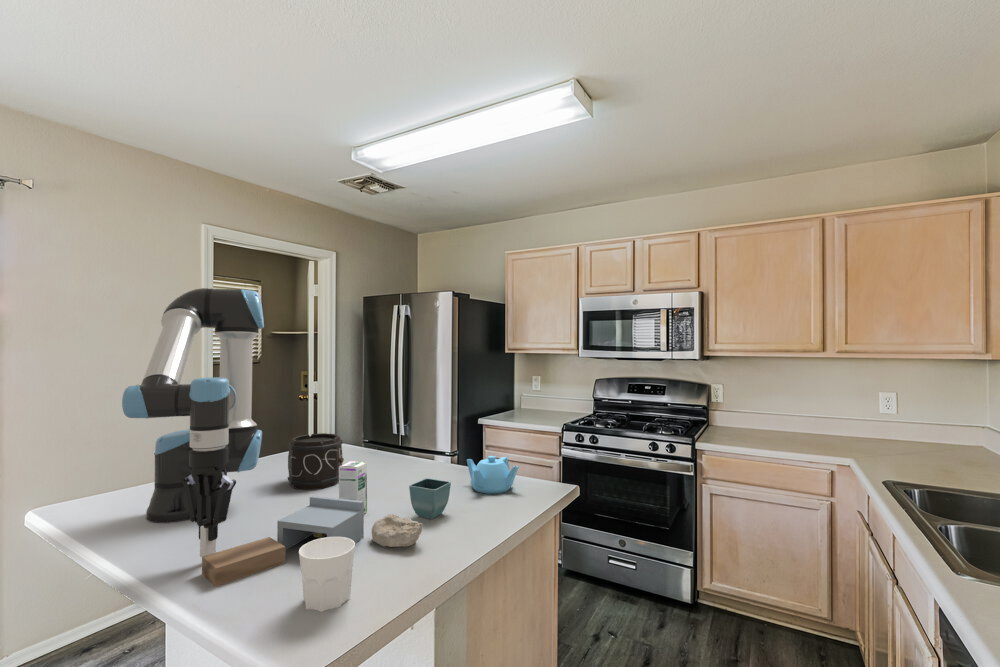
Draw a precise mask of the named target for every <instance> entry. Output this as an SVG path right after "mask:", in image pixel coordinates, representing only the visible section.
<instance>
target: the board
mask: <svg viewBox="0 0 1000 667" xmlns="http://www.w3.org/2000/svg"><path fill="white" fill-rule="evenodd" d="M283 564H286V550H285V546H284V545H282V544H280V543H279V542H277V540H275V539H274V538H272V537H271V536H268V537H266V538H265V537H264V538H261V539H257V540H254V541H251V542H247V543H243V544H241V545H237V546H234V547H230V548H227V549H224V550H221V551H217V552H215V553H213V554H210V555H206V556H203V557H201V575H202V576H203V577H204V578H206V580H207V581H208V582H210V583H211V584H212V585H213V586H214V587H215V588H216V587H219V586H222V585H225V584H228V583H230V582H234V581H237V580H240V579H242V578H247V577H249V576H251V575H255V574H257V573H261V572H263V571H266V570H269V569H271V568H274V567H278V566H280V565H283Z"/></svg>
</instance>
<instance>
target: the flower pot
mask: <svg viewBox="0 0 1000 667" xmlns="http://www.w3.org/2000/svg"><path fill="white" fill-rule="evenodd" d="M451 483H452V481H447V480H446V481H445V480H440V479H434V478H428V477H426V478H423V479H421V480H419V481H417V482H414V483H411V484H410V485H409V486H408V489H409V495H410V497H409V499H410V504H411V507H412V509H413V511H414V513H415V514H416V516H417V517H420V518H425V519H430V520H432V519H435V518H437V517H438V516H440V515H442V514H443V512H444V510H446V507H447V506H448V505H447V504H448V503H449V500H450V499H449V498H450V492H451Z"/></svg>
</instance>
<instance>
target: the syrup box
mask: <svg viewBox="0 0 1000 667" xmlns="http://www.w3.org/2000/svg"><path fill="white" fill-rule="evenodd" d="M367 469H368V468H367V462H366V461H360V460H359V461H358V460H357V461H355V460H354V461H350V460H349V461H348V462H347V463H346V462H345V463H344V464H342V466H339V482H338V499H348V500H357V501H364V515H365V514H366V513H368V486H367V485H368V484H367V483H368V481H367V480H368V477H367V476H368V474H367V471H368V470H367Z"/></svg>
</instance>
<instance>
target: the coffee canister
mask: <svg viewBox="0 0 1000 667" xmlns="http://www.w3.org/2000/svg"><path fill="white" fill-rule="evenodd" d="M343 443H344V442H343V440H342V439H341V436H340V435H337V434H335V433H326V432H324V433H323V432H321V433H311V435H309V433H308V434H302V435H297V436H295V437H293V438H290V442H288V444H287V448H288V456H287V471H288V476H287V479H286V480H287V481H288V482H289V483H290V486H291V487H292V488H293V489H297V490H306V491H308V490H317V489H318V490H319V489H326V488H329V487H332V486H335V485H337V483H338V484H339V466H342V465H343V462H344V460H345V459H344V457H343V447H342V444H343Z"/></svg>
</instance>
